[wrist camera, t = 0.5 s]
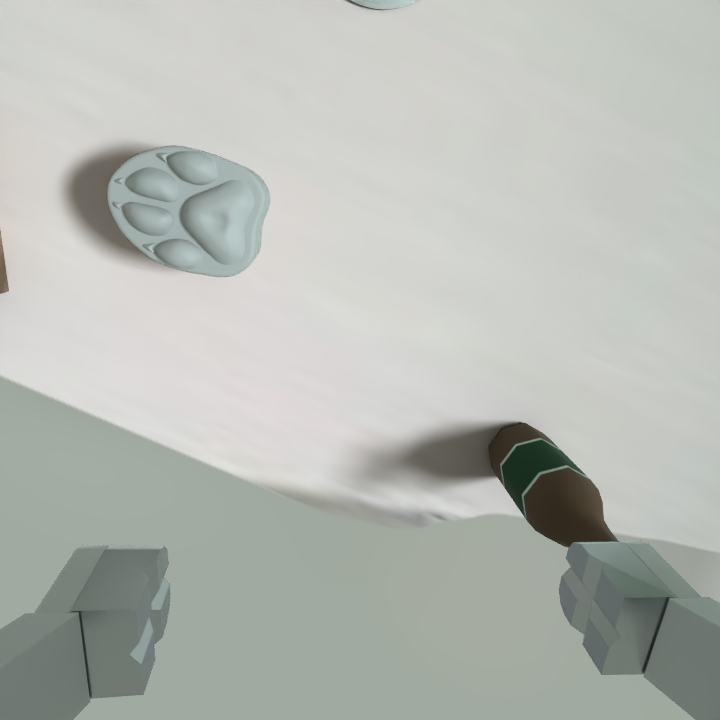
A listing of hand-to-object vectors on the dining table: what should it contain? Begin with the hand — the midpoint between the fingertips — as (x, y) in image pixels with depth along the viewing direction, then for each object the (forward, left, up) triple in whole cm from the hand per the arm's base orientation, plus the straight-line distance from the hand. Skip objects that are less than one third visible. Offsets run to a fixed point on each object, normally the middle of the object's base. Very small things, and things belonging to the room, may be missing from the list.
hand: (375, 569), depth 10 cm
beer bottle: (+21, +26, -45) cm, 56 cm away
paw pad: (-5, -12, -45) cm, 47 cm away
